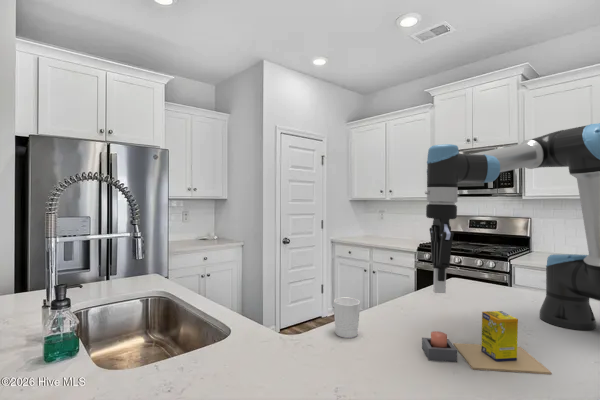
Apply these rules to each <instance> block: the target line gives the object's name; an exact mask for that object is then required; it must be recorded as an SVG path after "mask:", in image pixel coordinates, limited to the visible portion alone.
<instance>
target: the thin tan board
mask: <svg viewBox="0 0 600 400" xmlns="http://www.w3.org/2000/svg"><path fill="white" fill-rule="evenodd" d="M452 344H453V346H454V347H455V348H456V349H457V353H458V354H460V355H461V357H462V358H463V359H464V361H465V362H466V363H467V364H468V365H469V367H470V368H471V369H472V370H475V371H487V372H489V371H491V372H492V371H493V372H507V373H523V374H538V375H539V374H540V375H552V371H551V370H549V368H547V367H546V366H544V365H543V364H542V363H541V362H539V360H537V359H536V358H535V357H533V355H531V354H530V353H529V352H528V351H526V350H525V349H523V348H522V347H521V346H517V361H502V362H496V361H495V360H493V359H492V358H491V357H489V356H488V355H487V354H485V353H483V352H482V351H481V345H482V344H479V343H478V344H475V343H462V342H461V343H460V342H459V343H458V342H453V343H452Z"/></svg>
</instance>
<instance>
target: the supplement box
mask: <svg viewBox="0 0 600 400" xmlns="http://www.w3.org/2000/svg"><path fill="white" fill-rule="evenodd" d="M481 313H482V314H481V315H482V316H481V344H480V345H481V351H482V352H483V353H485V354H487V355H488V356H489V357H491V358H492V359H493V360H495V361H496V362H502V361H517V347H518V333H519V332H518V328H519V318H517V317H514V316H513V315H510V314H508V313H507V312H504V311H502V310H494V311H493V310H492V311H491V310H490V311H489V310H488V311H481Z"/></svg>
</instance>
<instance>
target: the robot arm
mask: <svg viewBox="0 0 600 400" xmlns="http://www.w3.org/2000/svg"><path fill="white" fill-rule="evenodd" d="M426 167H427V168H426V190H425V191H424V194H425V195H426V202H427V203H428V204H427V205H426V208H425V210H426V211H425V212H426V214H425V217H426V218H428V219H432V220H433V221H432V225H431V227H429V234H430V235H429V236H430V254H431V255H430V257H431V260H430V262H431V263H432V265H433V266H432V267H433V284H432V285H433V287H432V289H433V290H432V291H433V293H436V294H446V288H447V287H446V286H447V285H446V284H447V269H448V268H450V264H451V253H452V245H453V238H454V235H455V232H453V231H452V227H451V226H452V225H450V220H456V219H457V216H458V215H457V214H458V206H457V203H458V195H459V194H458V193H459V192H458V189H459V188H458V184H466V183H467V184H468V183H480V184H482V183H483V184H484V183H485V184H486V183H492V182H494V181H495V180H496V179H497V178H498V177H499V176H500V174H501V173H504V172H509V171H513V170H514V171H515V170H519V169H522V168H523V169H524V168H525V169H529V170H534V169H539V168H568V172H569V175H570V176H572V177H574V178H575V179H576V183H577V188H578V193H579V200H580V207H581V212H582V213H581V215H582V219H583V226H584V232H585V238H586V243H587V244H586V245H587V250H588V255H587V254H577V253H575V254H573V253H571V254H569V253H566V254H565V253H564V254H561V253H558V254H557V253H556V254H550V255H549V256H548V257H547V259H546V265H545V267H546V269H545V270H546V272H545V274H546V275H545V281H546V282H545V288H546V289H545V297H544V300H543V303H542V305H541V307H540V309H539V319H540V320H542V321H543V322H545V323H547V324H550V325H554V326H557V327H561V328H565V329H570V330H579V331H591V330H595V329H596V328H597V327H596V326H597V323H596V322H597V321H596V318H595V315H594V312H593V309H592V307H591V304H590V299H592V300H595V301H598V302H600V122H599V123H598V122H597V123H590V124H587V125H582V126H576V127H572V128H566V129H561V130H557V131H552V132H549V133H546V134H544V135H541V136H538V137H534V138H530V139H526V140H523V141H522V142H521V143H520V144H514V145H511V146H505V147H501V148H495V149H490V150H485V151H479V152H474V153H470V154H469V153H460V151H459V147H458V145H456V144H453V143H447V144H446V143H445V144H444V143H443V144H435V145H432V146H429V147H428V151H427V160H426Z"/></svg>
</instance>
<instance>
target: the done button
mask: <svg viewBox="0 0 600 400" xmlns="http://www.w3.org/2000/svg"><path fill="white" fill-rule="evenodd" d="M430 338H431V347H436V348H447V339H448V334H447V333H445V332H444V331H443V332H442V331H438V330H437V331H435V330H434V331H431V332H430Z"/></svg>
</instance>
